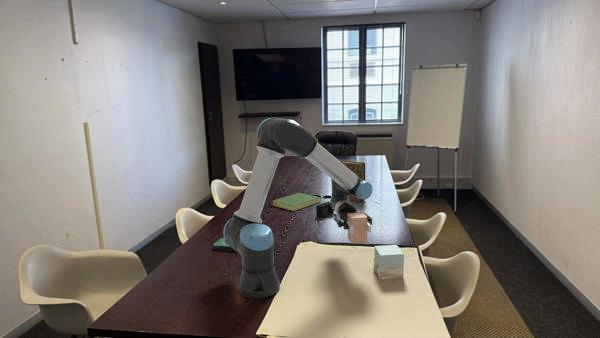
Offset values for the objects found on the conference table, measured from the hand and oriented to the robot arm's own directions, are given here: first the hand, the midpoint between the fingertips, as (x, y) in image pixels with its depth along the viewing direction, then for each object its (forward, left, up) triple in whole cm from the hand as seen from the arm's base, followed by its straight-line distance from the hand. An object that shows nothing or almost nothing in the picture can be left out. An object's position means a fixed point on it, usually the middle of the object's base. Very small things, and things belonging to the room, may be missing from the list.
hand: (361, 229), depth 148 cm
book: (-63, +89, -21) cm, 111 cm away
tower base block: (+5, +12, -21) cm, 24 cm away
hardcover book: (-87, +62, -21) cm, 109 cm away
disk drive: (-67, -8, -21) cm, 70 cm away
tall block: (-4, +3, -6) cm, 8 cm away
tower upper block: (+5, +12, -16) cm, 20 cm away
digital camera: (-58, +55, -21) cm, 82 cm away
